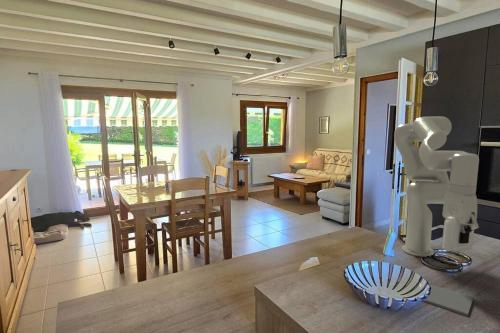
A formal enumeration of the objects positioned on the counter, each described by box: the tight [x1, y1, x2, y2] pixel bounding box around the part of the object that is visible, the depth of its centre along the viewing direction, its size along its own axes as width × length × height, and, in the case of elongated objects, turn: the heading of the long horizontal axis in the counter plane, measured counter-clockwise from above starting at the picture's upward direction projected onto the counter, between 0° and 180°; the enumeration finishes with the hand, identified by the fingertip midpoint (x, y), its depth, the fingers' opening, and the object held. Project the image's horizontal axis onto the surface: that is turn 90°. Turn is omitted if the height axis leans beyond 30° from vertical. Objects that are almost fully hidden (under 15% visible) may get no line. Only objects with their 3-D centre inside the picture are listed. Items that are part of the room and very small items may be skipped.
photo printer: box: [441, 216, 475, 252], centre depth 105 cm, size 10×4×12 cm, turn 103°
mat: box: [423, 284, 474, 317], centre depth 95 cm, size 12×12×1 cm
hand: (457, 239), depth 105 cm, fingers closed on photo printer, 4 cm apart
